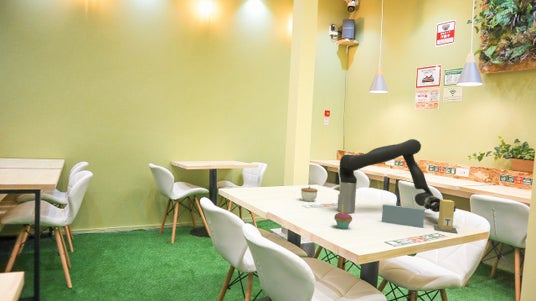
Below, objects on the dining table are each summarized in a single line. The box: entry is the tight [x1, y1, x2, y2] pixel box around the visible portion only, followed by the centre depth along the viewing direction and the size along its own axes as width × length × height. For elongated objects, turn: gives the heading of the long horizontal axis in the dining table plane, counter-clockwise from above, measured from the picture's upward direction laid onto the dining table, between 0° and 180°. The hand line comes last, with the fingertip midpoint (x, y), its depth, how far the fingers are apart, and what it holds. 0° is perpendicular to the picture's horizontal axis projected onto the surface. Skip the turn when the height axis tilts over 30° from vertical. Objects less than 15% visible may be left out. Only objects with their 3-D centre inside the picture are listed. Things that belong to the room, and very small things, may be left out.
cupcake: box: [333, 203, 353, 230], centre depth 168 cm, size 9×8×12 cm
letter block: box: [437, 198, 456, 230], centre depth 174 cm, size 5×5×14 cm
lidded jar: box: [300, 186, 318, 203], centre depth 232 cm, size 11×11×9 cm
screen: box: [381, 204, 426, 229], centre depth 181 cm, size 20×2×9 cm, turn 67°
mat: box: [433, 224, 458, 234], centre depth 175 cm, size 10×10×1 cm
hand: (444, 209), depth 177 cm, fingers open, 8 cm apart
